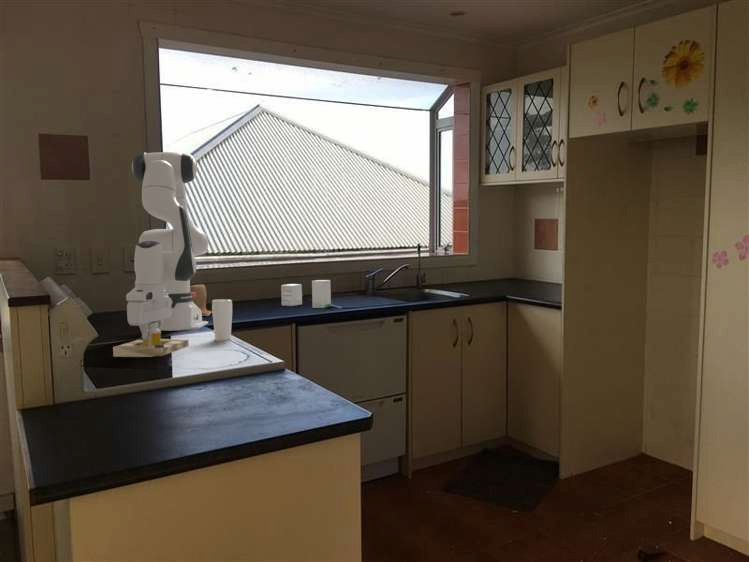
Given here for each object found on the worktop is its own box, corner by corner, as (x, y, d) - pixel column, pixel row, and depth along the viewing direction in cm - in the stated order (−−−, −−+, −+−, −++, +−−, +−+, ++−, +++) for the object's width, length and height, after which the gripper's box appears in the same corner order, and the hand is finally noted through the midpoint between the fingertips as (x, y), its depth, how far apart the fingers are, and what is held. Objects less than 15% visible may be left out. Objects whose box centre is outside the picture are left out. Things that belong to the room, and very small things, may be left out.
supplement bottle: (141, 353, 202) (140, 323, 202) (145, 350, 208) (144, 321, 207) (158, 353, 203) (158, 323, 202) (162, 350, 208) (161, 321, 207)
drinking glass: (211, 342, 223) (210, 299, 222) (231, 341, 226) (230, 298, 225) (214, 345, 217) (213, 301, 216) (234, 344, 220) (233, 300, 218)
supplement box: (291, 308, 320) (291, 283, 319) (302, 309, 316) (302, 284, 315) (281, 310, 314) (280, 284, 313) (292, 311, 310) (291, 285, 309)
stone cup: (187, 315, 296) (187, 283, 295) (214, 315, 297) (213, 283, 296) (181, 320, 281) (180, 286, 280) (208, 319, 282) (208, 285, 281)
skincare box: (324, 314, 297) (323, 281, 296) (311, 313, 299) (310, 280, 298) (331, 312, 305) (331, 279, 304) (319, 311, 307) (318, 279, 306)
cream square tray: (143, 347, 215) (142, 335, 214) (188, 348, 211) (188, 336, 211) (113, 356, 199) (112, 343, 198) (161, 358, 195) (161, 345, 195)
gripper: (158, 289, 214) (160, 330, 216) (122, 295, 194) (124, 340, 196) (175, 289, 213) (177, 330, 214) (141, 296, 193) (142, 341, 194)
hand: (151, 335), depth 205 cm, fingers closed on supplement bottle, 5 cm apart
